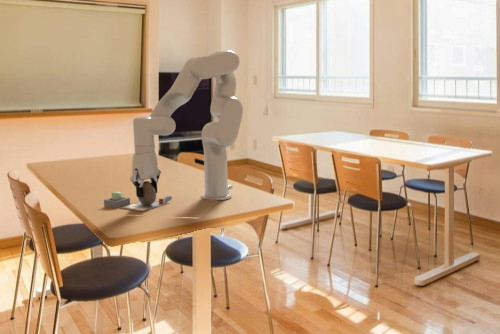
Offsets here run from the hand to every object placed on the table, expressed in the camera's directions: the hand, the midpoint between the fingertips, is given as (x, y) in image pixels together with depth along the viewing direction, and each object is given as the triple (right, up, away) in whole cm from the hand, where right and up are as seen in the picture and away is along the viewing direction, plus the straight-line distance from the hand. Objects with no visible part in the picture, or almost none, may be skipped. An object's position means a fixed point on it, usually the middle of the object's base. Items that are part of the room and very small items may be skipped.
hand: (147, 194), depth 194 cm
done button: (-12, -3, +3) cm, 13 cm away
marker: (+6, -3, +8) cm, 11 cm away
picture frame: (-1, -5, +2) cm, 6 cm away
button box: (-12, -5, +4) cm, 14 cm away
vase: (0, -4, +1) cm, 4 cm away
